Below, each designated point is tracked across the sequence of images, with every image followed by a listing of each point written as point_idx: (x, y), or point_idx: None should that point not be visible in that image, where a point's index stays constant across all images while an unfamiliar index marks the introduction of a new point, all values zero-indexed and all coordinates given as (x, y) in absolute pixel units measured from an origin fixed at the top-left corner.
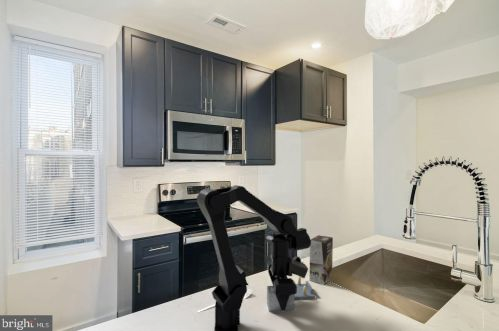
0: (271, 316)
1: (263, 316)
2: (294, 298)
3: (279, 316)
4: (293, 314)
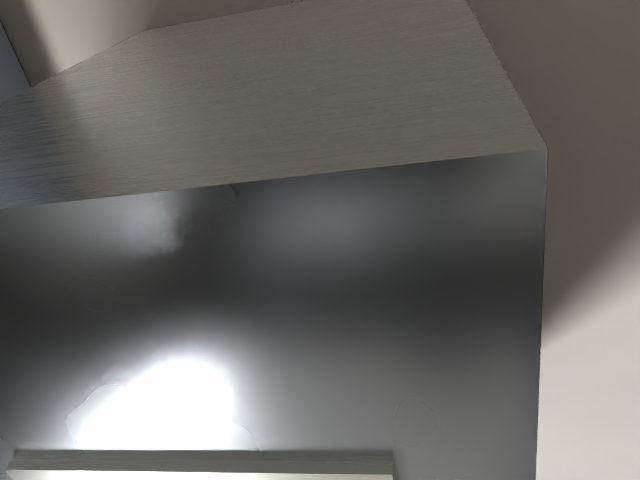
0: (596, 376)
1: (580, 454)
2: (482, 43)
3: (616, 276)
4: (588, 9)
